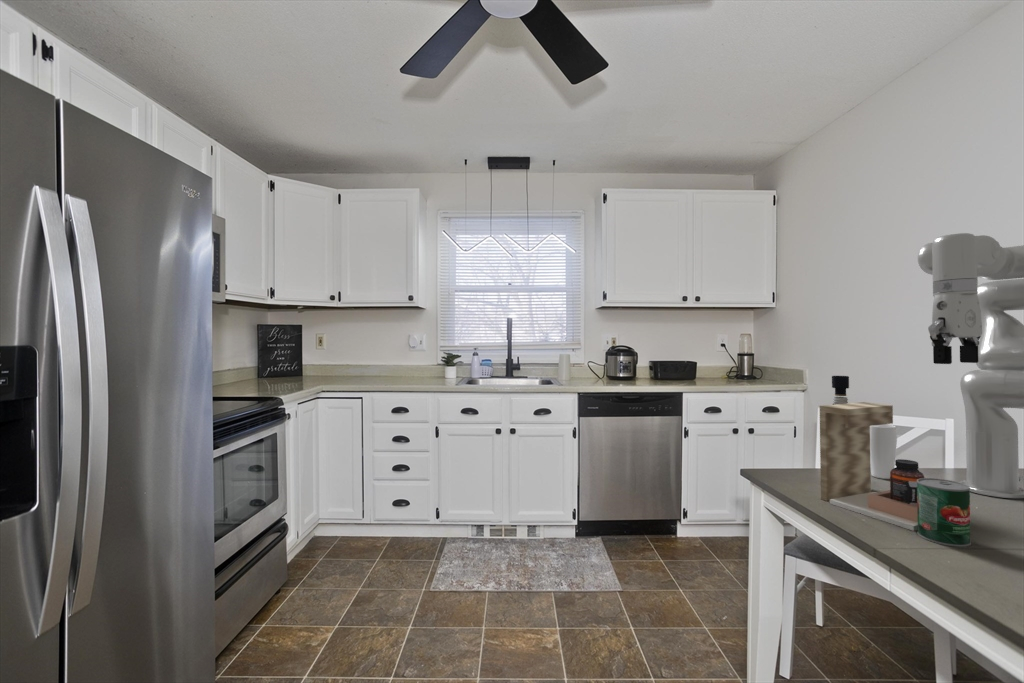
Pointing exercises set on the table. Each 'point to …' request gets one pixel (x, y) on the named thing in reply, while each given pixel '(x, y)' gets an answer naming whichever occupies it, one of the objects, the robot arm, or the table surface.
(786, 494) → the table surface
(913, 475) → the supplement bottle
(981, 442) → the robot arm
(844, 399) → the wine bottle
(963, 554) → the table surface
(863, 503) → the socket
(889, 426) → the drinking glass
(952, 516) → the canned tomato
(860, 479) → the wood grain block
